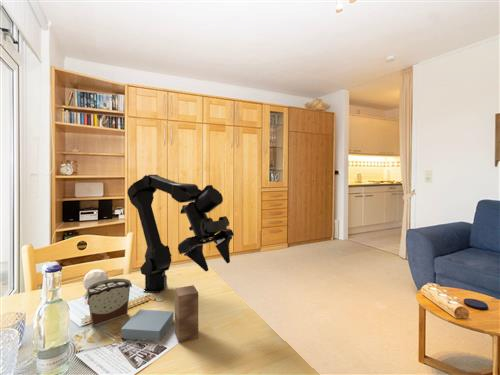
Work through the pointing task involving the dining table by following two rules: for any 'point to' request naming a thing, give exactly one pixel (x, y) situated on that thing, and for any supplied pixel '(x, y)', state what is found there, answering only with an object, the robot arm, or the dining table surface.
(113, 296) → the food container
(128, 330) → the slate-blue block
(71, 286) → the dining table surface
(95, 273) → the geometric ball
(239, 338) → the dining table surface
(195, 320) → the walnut block
